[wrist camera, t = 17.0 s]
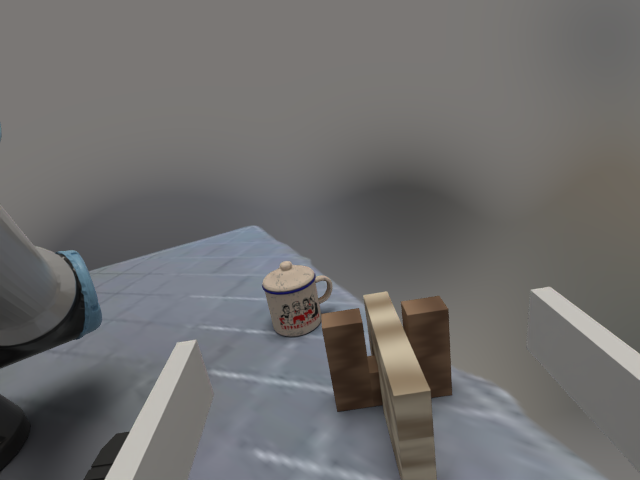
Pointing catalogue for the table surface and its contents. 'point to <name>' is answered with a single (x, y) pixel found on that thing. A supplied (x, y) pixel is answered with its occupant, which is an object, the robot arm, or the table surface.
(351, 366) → the brown wooden u block
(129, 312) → the table surface
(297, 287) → the teacup with lid
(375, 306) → the birch board
